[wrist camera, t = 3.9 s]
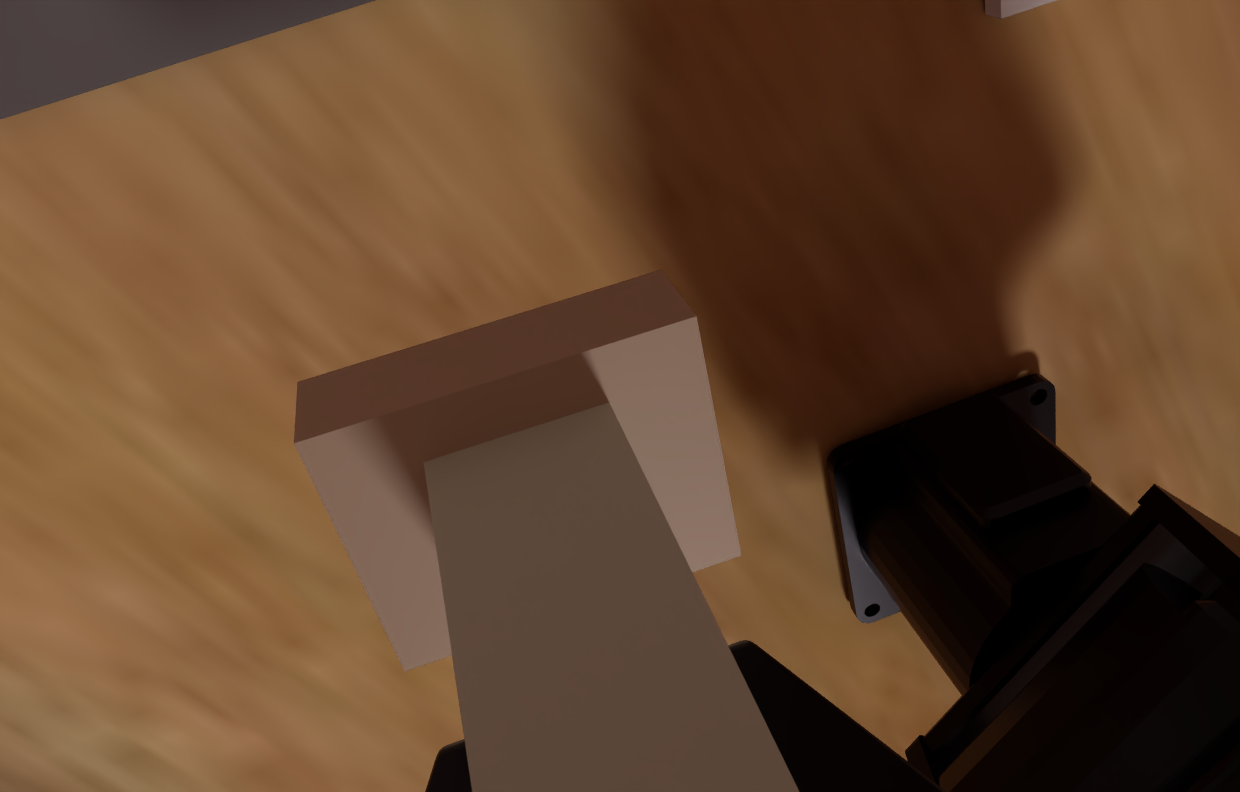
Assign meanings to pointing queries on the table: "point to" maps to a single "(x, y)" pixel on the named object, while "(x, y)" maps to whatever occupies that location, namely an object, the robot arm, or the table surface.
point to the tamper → (552, 540)
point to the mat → (125, 39)
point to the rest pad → (1010, 7)
